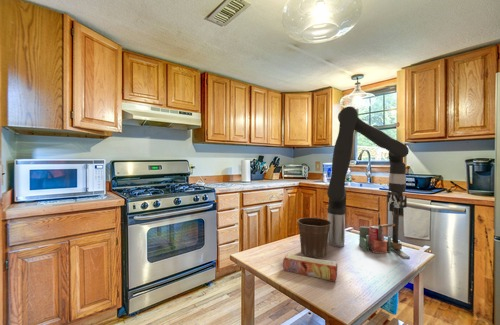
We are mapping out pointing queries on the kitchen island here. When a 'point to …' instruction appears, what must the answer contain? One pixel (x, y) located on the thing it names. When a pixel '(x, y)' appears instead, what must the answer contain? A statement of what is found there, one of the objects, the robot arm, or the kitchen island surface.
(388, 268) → the kitchen island surface
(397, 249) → the rail
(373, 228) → the soda can
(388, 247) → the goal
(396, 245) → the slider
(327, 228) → the plant pot
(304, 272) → the snack package
